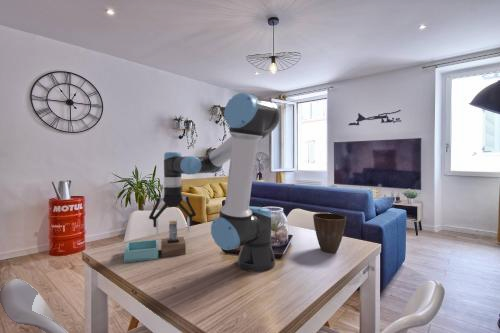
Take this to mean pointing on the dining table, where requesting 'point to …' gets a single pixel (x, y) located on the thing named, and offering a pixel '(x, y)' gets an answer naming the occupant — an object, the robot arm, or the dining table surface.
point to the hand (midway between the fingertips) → (173, 232)
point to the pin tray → (141, 251)
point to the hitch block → (173, 247)
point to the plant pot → (329, 230)
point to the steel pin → (172, 231)
